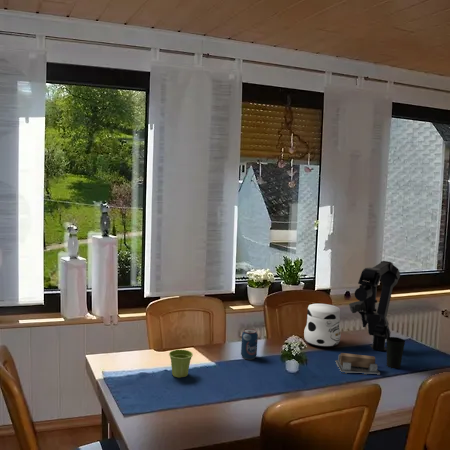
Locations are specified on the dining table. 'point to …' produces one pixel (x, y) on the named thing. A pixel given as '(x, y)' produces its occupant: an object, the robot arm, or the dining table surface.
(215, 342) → the dining table surface
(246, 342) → the soda can
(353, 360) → the rail
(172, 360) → the plant pot
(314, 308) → the milk container
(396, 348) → the cup
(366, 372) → the brackets
